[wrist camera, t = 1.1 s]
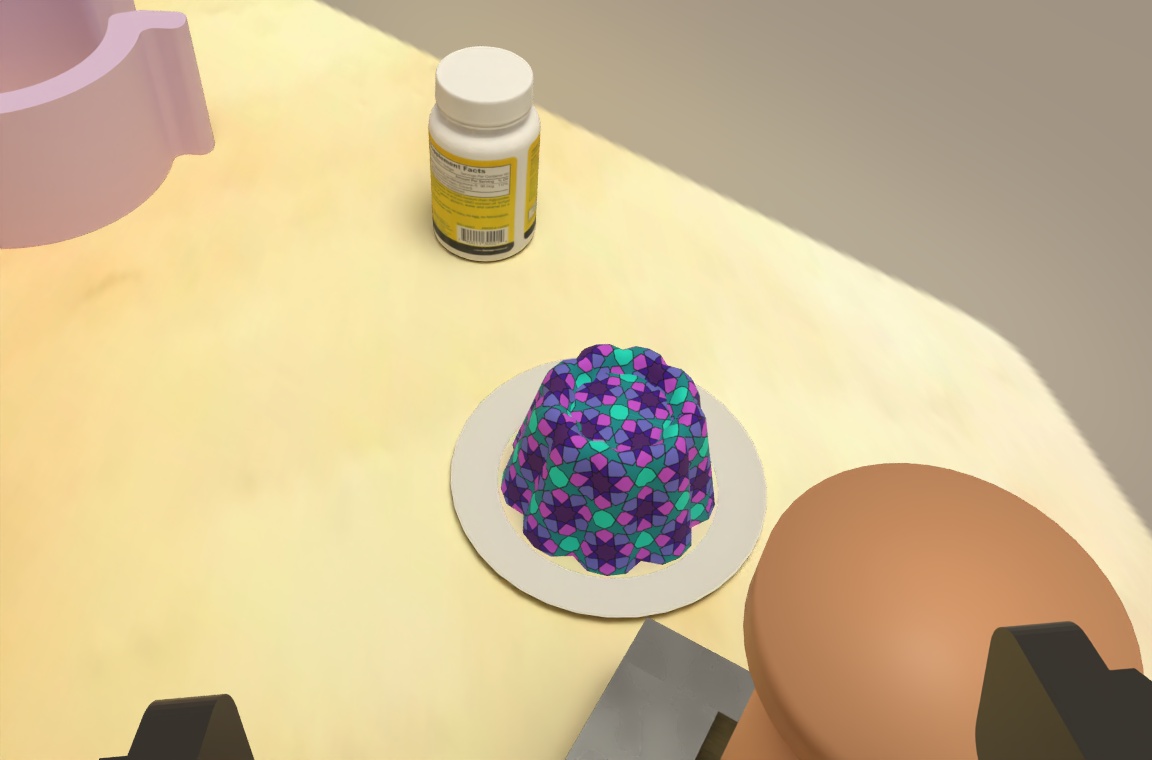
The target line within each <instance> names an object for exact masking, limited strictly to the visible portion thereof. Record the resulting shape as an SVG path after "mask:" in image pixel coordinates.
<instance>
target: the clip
mask: <svg viewBox="0 0 1152 760" xmlns="http://www.w3.org/2000/svg"><path fill="white" fill-rule="evenodd" d="M214 146H215V141H214V137H213V132H212V128H211V123H210V119H209V115H208V110H207V106H206V101H205V97H204V93H203V88H202V84H201V79H200V75H199V70H198V66H197V62H196V57H195V53H194V48H193V44H192V40H191V35H190V31H189V26H188V22H187V17H186V15H185V14H183V13H181V12H170V11H146V10H139V11H136V8H135V5H134V1H133V0H0V249H11V248H25V247H34V246H41V245H47V244H52V243H57V242H61V241H65V240H69V239H72V238H76V237H79V236H82V235H85V234H88V233H90V232H93V231H95V230H98V229H100V228H102V227H105V226H107V225H109V224H111V223H113V222H115V221H117V220H119V219H120V218H122V217H124V216H126V215H127V214H129V213H130V212H132V211H133V210H135V209H136V208H137V207H139V206H140V205H141V204H142V203H144V202H145V201H146V200H147V199H148V198H149V197H150V196H152V195H153V193H154V192H155V191H156V190H157V189H158V188H159V187H160V185H161V184H162V183H163V181H164V180H165V178H166V177H167V175H168V173H169V171H170V169H171V166H172V163H173V161H174V159H175V158H176V157H178V156H180V155H184V154H192V155H204V154H208V153H210V152H211V151H212V150H213V149H214Z"/></svg>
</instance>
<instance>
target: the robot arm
mask: <svg viewBox="0 0 1152 760" xmlns="http://www.w3.org/2000/svg"><path fill="white" fill-rule="evenodd" d="M975 742H976V751H977V756H978V760H1152V681H1151V680H1149V679H1148V678H1147V677H1146V676H1144V675H1143V674H1142V673H1140V672H1139V671H1138V670H1137V669H1135V668H1128V669H1117V670H1109V668H1108V667H1107V665H1106V664H1105V662H1104V661H1103V659H1102V658H1101V656H1100V655H1099V653H1098V652H1097V650H1096V649H1095V647H1094V646H1093V644H1092V643H1091V641H1090V640H1089V638H1088V637H1087V635H1086V634H1085V633H1084V631H1083V630H1082V629H1081V628H1080V627H1079V626H1078V625H1077V624H1075V623H1074V622H1071V621H1063V622H1052V623H1041V624H1029V625H1018V626H1007V627H999V628H997V629H996V630H995V631H994V632H993V635H992V637H991V641H990V647H989V652H988V658H987V663H986V669H985V675H984V680H983V686H982V691H981V697H980V703H979V708H978V714H977V719H976V726H975ZM99 760H254V757H253V754H252V752H251V749H250V746H249V743H248V740H247V737H246V734H245V731H244V728H243V725H242V722H241V719H240V716H239V713H238V710H237V707H236V705H235V702H234V700H233V699H232V697H231V696H230V695H228V694H220V695H209V696H198V697H187V698H176V699H165V700H155V701H154V702H152V703H151V704H150V705H149V706H148V708H147V709H146V711H145V713H144V715H143V717H142V720H141V722H140V725H139V728H138V730H137V733H136V735H135V738H134V740H133V743H132V745H131V748H130V751H129V753H128V756H121V757H110V758H100V759H99Z"/></svg>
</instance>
